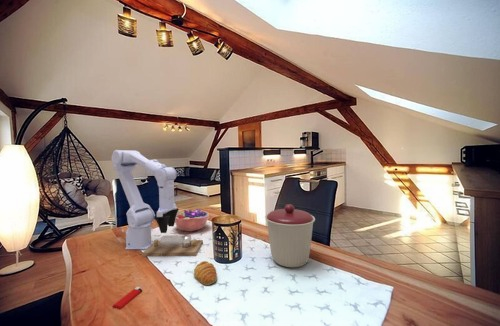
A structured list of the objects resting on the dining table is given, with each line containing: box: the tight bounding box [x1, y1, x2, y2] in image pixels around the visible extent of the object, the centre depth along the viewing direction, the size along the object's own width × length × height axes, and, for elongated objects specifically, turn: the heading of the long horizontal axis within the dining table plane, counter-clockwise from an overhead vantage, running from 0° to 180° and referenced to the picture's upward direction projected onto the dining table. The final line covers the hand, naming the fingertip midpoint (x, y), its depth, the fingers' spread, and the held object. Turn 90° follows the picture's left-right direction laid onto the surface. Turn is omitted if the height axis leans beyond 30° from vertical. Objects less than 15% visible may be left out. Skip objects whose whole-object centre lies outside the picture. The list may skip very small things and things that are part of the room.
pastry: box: [193, 260, 218, 286], centre depth 67 cm, size 9×7×4 cm
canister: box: [264, 203, 316, 268], centre depth 77 cm, size 18×18×21 cm
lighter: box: [111, 286, 143, 310], centre depth 58 cm, size 3×1×8 cm
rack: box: [142, 238, 204, 257], centre depth 88 cm, size 21×12×4 cm, turn 89°
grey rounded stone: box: [159, 234, 192, 248], centre depth 88 cm, size 12×4×4 cm, turn 89°
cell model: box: [174, 208, 210, 232], centre depth 112 cm, size 17×20×11 cm
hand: (167, 229), depth 86 cm, fingers open, 7 cm apart
